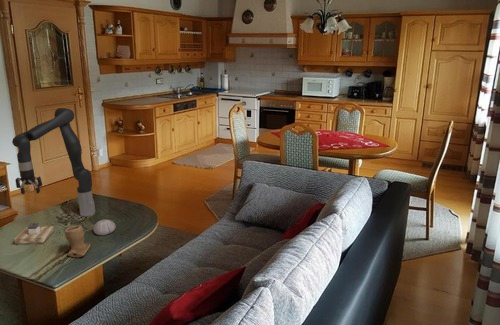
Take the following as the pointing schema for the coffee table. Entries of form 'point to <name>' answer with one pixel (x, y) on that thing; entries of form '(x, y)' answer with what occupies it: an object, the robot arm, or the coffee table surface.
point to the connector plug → (34, 229)
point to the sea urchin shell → (104, 227)
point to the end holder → (34, 236)
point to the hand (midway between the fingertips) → (30, 193)
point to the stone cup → (76, 241)
